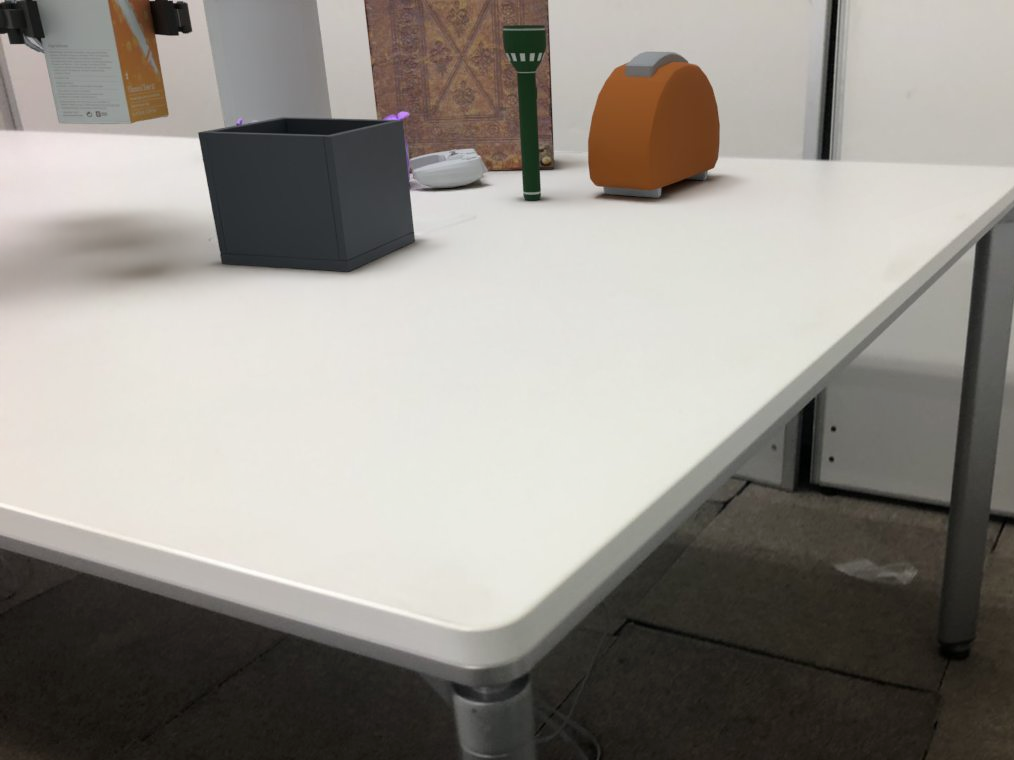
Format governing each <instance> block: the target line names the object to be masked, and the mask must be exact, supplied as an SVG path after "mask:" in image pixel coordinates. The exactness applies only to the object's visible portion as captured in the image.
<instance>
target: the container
mask: <svg viewBox="0 0 1014 760" xmlns="http://www.w3.org/2000/svg"><path fill="white" fill-rule="evenodd" d="M202 3H203V9H204V15H205V21H206V27H207V32H208V33H207V34H208V38H209V39H208V40H209V45H210V50H211V55H212V63H213V67H214V73H215V79H216V86H217V90H218V96H219V103H220V109H221V113H222V120H223V127H224V128H225V127H231V126H236V123H237V121H238V120H239V119H240V118H241V119H242V124H248V123H251V122H252V121H253V120H256V121H264V120H270V119H276V118H281V117H295V118H333V117H332V116H333V115H332V108H331V101H330V94H329V93H330V92H329V86H328V79H327V78H328V77H327V71H326V70H327V69H326V62H325V55H324V47H323V39H322V31H321V25H320V24H321V23H320V15H319V10H318V9H319V8H318V1H317V0H202Z"/></svg>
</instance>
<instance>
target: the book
mask: <svg viewBox="0 0 1014 760" xmlns="http://www.w3.org/2000/svg"><path fill="white" fill-rule="evenodd" d="M363 3H364V13H365V14H364V15H365V20H366V31H367V40H368V41H367V42H368V48H369V59H370V67H371V75H372V83H373V84H372V86H373V94H374V103H375V111H376V120H383V119H384V118H386V117H388V116H389V115H396V116H397V115H398V113H400V112H408V113H409V116H408V117H405V118H403V119H402V121H403V123H404V135H405V139H406V142H407V146H408V152H409V160H410V159H412V158H415V157H418V156H422V155H426V154H431V153H437V152H444V151H450V150H454V149H457V150H460V149H471V148H472V149H475V151H476V153H477V154H478V156H479V155H480V156H481V160H482V161H483V163H484V164H485V166H486V168H487V169H488V171H513V170H514V171H515V170H518V171H519V170H521V171H522V159H521V140H520V121H519V102H518V83H517V71H516V70H515V68H514V67H513V65H512V64H511V63H510V61H509V60H508V58H507V55H506V53H505V50H504V46H503V26H513V25H543V26H545V30H546V50H545V54H544V57H543V60H542V61H541V63H540V65H539V66H538V68H537V70H536V71H535V74H536V87H537V118H538V140H539V162H540V170H551V169H554V168H555V152H554V151H555V148H554V146H555V145H554V121H553V94H552V91H553V90H552V69H551V68H552V67H551V66H552V65H551V64H552V63H551V42H550V41H551V39H550V13H549V12H550V11H549V10H550V9H549V0H363ZM409 173H412V169H411V168H410V169H409Z"/></svg>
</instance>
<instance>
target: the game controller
mask: <svg viewBox="0 0 1014 760" xmlns="http://www.w3.org/2000/svg"><path fill="white" fill-rule="evenodd" d="M409 163H410V168H411V169H412V172H411V175H412V177H413V179H414V180H415V181H416V182H417V183H419V184H421V185H423V186H425V187H428V188H429V187H430V188H436V189H449V188H457V187H458V188H459V187H461V186H466V185H469V184H472V183H475V182H476V181H478V180H480V179H482V178H483V177H484V174H485V173H487V172H489V170H488V169H487V168H486V166H485V164H484V163H483V161H482V160H481V156H480V155H479V156H478V154H477V153H476V151H475V149H472V148H471V149H460V150H457V149H454V150H450V151H444V152H437V153H431V154H426V155H422V156H418V157H415V158H412V159H410V160H409Z"/></svg>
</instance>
